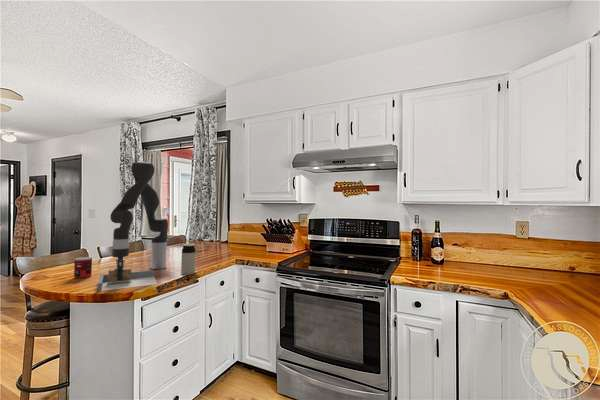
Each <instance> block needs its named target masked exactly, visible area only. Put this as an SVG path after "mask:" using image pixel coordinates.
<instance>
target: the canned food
mask: <svg viewBox="0 0 600 400" xmlns="http://www.w3.org/2000/svg"><path fill="white" fill-rule="evenodd" d="M92 267H93V257H92V256H84V257H83V256H80V257H76V258H74V267H73V268H74V269H73V278H74V279H76V280H83V279H89V278H91V277H92V270H93V268H92Z"/></svg>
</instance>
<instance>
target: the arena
mask: <svg viewBox="0 0 600 400" xmlns="http://www.w3.org/2000/svg"><path fill="white" fill-rule="evenodd" d="M108 276H109V273H105V274H100V275H99V279H98V280H97V292H100V291H101V292H102V291H110V290H118V289H119V290H121V289H127V288H129V289H130V288H135V287H143V286H153V285H158V282H157V280H156V278H155V269H148V270H138V271H131V280H129V281H119V282H110V283H108Z"/></svg>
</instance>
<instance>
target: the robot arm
mask: <svg viewBox="0 0 600 400" xmlns="http://www.w3.org/2000/svg"><path fill="white" fill-rule="evenodd" d="M130 170H131V174H132V176H133V179H134V182H135V183H134V184H133V185H132V186H131V187H129V188H128V189H127V190H126V192H125V193H124V195H123V196H122V199H121V201H120V202H119V203H118V204H117V205H116V206H115V208H114V209H113V210H112V211H111V213H110V216H109V217H110V221H111V222H113V223H114V224H120V226H119V227H116V228H114V229H113V235H112V236H113V239H112V246H111V247H112V249H111V250H112V255H111V256H112V258H117V259H116V260H115V265H116V267H115V269H117V274H118V276H117V280H118V281H121V280H122V274H123V269H124V268H125V262H126V261H125V258H127V257H128V256H129V254H130V237H129V236H130V230H131V229H130V228H131V227H132V224H133V220H134V214H133V213H132V211H130V210H132V209H134V208H135V206H136V204H137V202H138V199H139V197H141V201H142V204H143V207H144V210H145V214H146V217H147V218H146V219H147V223H148V228H149V231H151V233H159V235H157V236H154V237H152V238H151V248H150V250H151V251H150V253H151V254H150V270H159V269H165V268H166V267H167V250H168V249H167V245H168V244H167V241H168V235H169V234H168V230H169V221H168V219H167V218H160V217H159V218H157V217H156V215H155V213H156V211H157V209H158V207H159V205H160V198H159V195H158V193H157V191H156V190H155V189H154V188H153V186H152V185H150V181H151V179H152V178H153V176H154V174H155V170H156V169H155V165H154V164H153V163H151V162H147V161H145V162H144V161H134V162H133V163H132V164H131V167H130ZM124 257H125V258H124ZM119 269H122V270H121V271H118V270H119Z"/></svg>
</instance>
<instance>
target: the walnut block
mask: <svg viewBox="0 0 600 400" xmlns="http://www.w3.org/2000/svg"><path fill="white" fill-rule="evenodd" d="M121 270H122V269H119V270H118V271H121ZM131 272H132V267H131V266H130V267H129V266H127V267H124V269H123V274H122V280H121V281H129V280H131ZM108 274H109V276H108V283H110V282H119V281H118V280H117V276H118V274H117V269H116V268H109V269H108Z"/></svg>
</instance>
